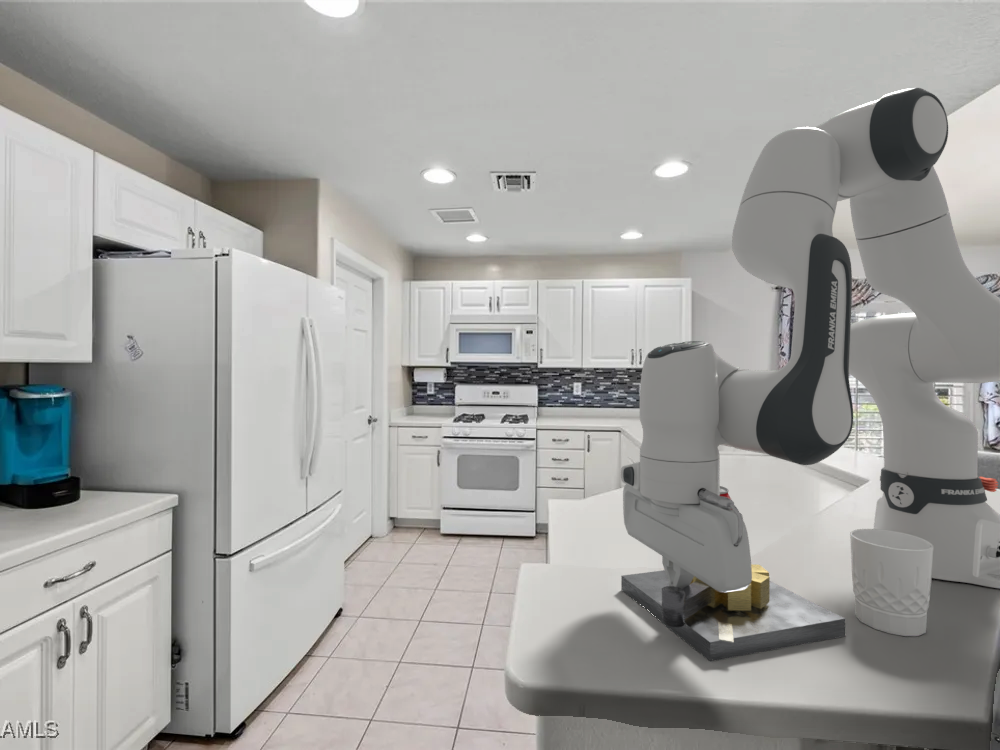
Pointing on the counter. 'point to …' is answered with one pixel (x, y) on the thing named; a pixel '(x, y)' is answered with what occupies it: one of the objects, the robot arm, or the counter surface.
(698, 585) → the geared lever handle
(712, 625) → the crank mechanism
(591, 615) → the counter surface
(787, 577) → the counter surface
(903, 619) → the white cup
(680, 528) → the robot arm
